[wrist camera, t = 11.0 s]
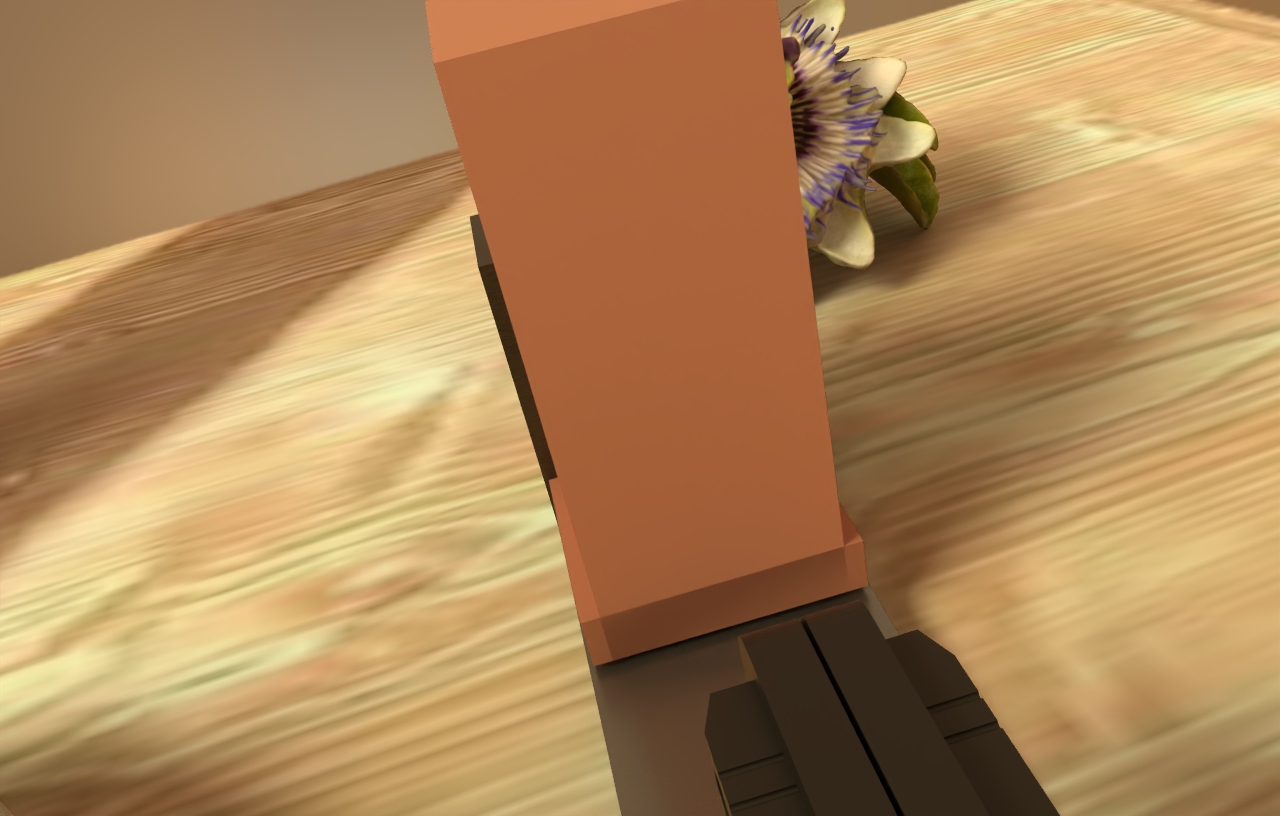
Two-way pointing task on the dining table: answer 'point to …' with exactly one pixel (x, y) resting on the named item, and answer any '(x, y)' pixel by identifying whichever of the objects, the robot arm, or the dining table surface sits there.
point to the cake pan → (4, 811)
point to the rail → (655, 655)
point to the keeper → (656, 301)
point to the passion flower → (851, 136)
